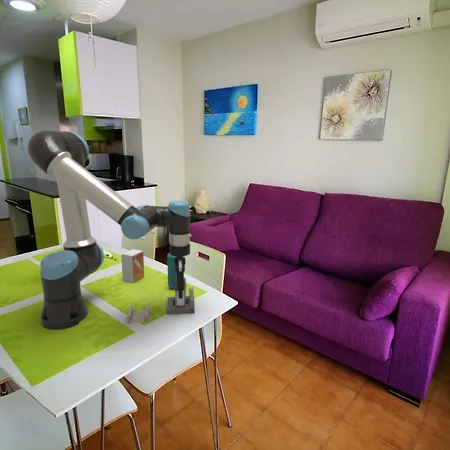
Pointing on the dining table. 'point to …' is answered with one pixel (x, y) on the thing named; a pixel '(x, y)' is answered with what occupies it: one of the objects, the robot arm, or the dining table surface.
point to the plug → (184, 292)
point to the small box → (132, 265)
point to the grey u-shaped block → (138, 315)
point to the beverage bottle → (171, 270)
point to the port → (181, 309)
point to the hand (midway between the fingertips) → (180, 301)
